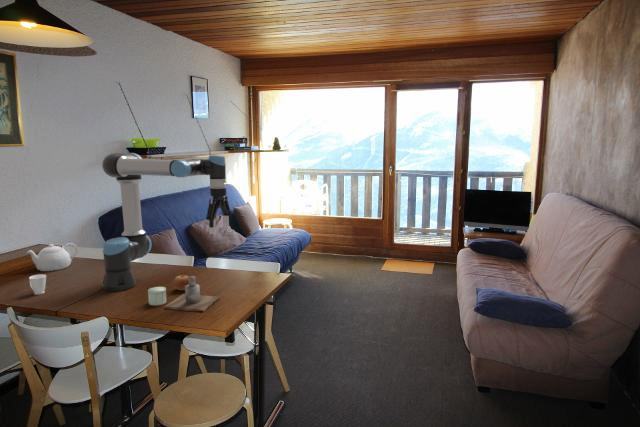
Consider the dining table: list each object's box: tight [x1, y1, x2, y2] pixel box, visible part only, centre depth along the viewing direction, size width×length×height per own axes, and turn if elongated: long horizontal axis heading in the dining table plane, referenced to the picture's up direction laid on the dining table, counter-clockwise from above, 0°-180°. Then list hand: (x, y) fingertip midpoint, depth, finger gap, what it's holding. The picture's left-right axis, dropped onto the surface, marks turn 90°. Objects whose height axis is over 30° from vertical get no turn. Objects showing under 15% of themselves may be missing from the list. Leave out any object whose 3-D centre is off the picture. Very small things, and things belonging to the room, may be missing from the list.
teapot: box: [26, 242, 79, 272], centre depth 248 cm, size 19×18×14 cm
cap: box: [147, 286, 168, 306], centre depth 193 cm, size 7×7×6 cm
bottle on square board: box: [164, 275, 221, 313], centre depth 191 cm, size 18×16×12 cm
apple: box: [173, 274, 190, 291], centre depth 210 cm, size 8×8×8 cm
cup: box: [28, 273, 47, 295], centre depth 206 cm, size 7×10×8 cm
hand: (219, 231), depth 213 cm, fingers open, 13 cm apart
